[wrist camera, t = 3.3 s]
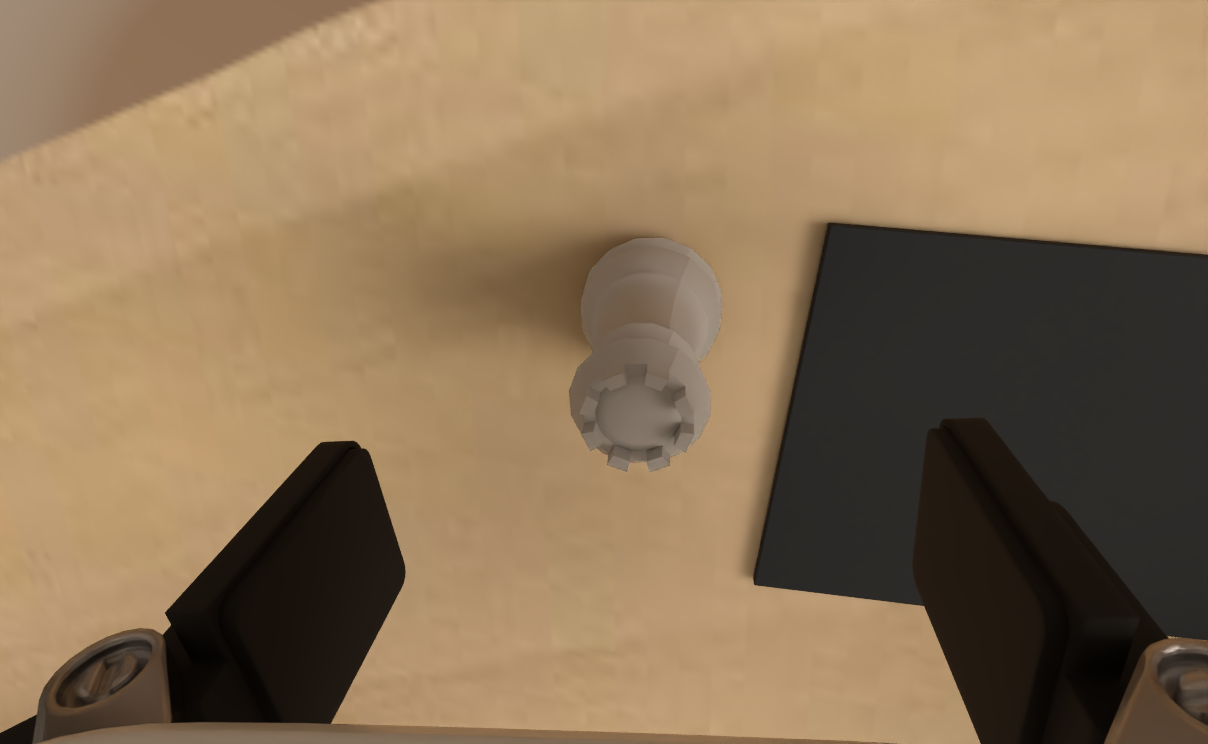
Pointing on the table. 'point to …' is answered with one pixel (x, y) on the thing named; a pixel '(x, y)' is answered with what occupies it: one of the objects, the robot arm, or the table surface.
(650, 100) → the table surface
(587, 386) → the rook chess piece
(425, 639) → the table surface
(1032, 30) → the table surface
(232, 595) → the robot arm
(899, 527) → the desk mat
